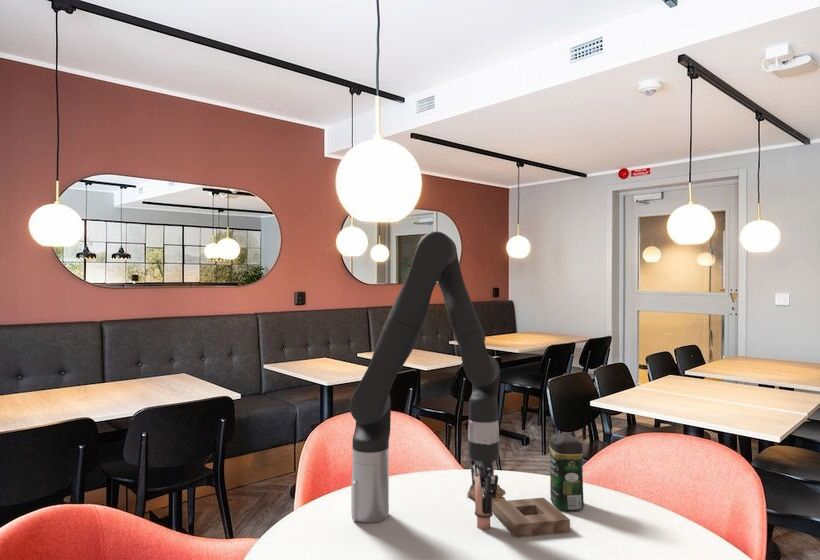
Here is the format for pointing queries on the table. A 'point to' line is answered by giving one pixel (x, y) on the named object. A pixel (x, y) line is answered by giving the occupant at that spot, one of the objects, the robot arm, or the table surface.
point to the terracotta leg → (482, 518)
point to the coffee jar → (566, 472)
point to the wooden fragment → (498, 498)
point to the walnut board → (531, 517)
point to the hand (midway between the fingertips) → (483, 509)
